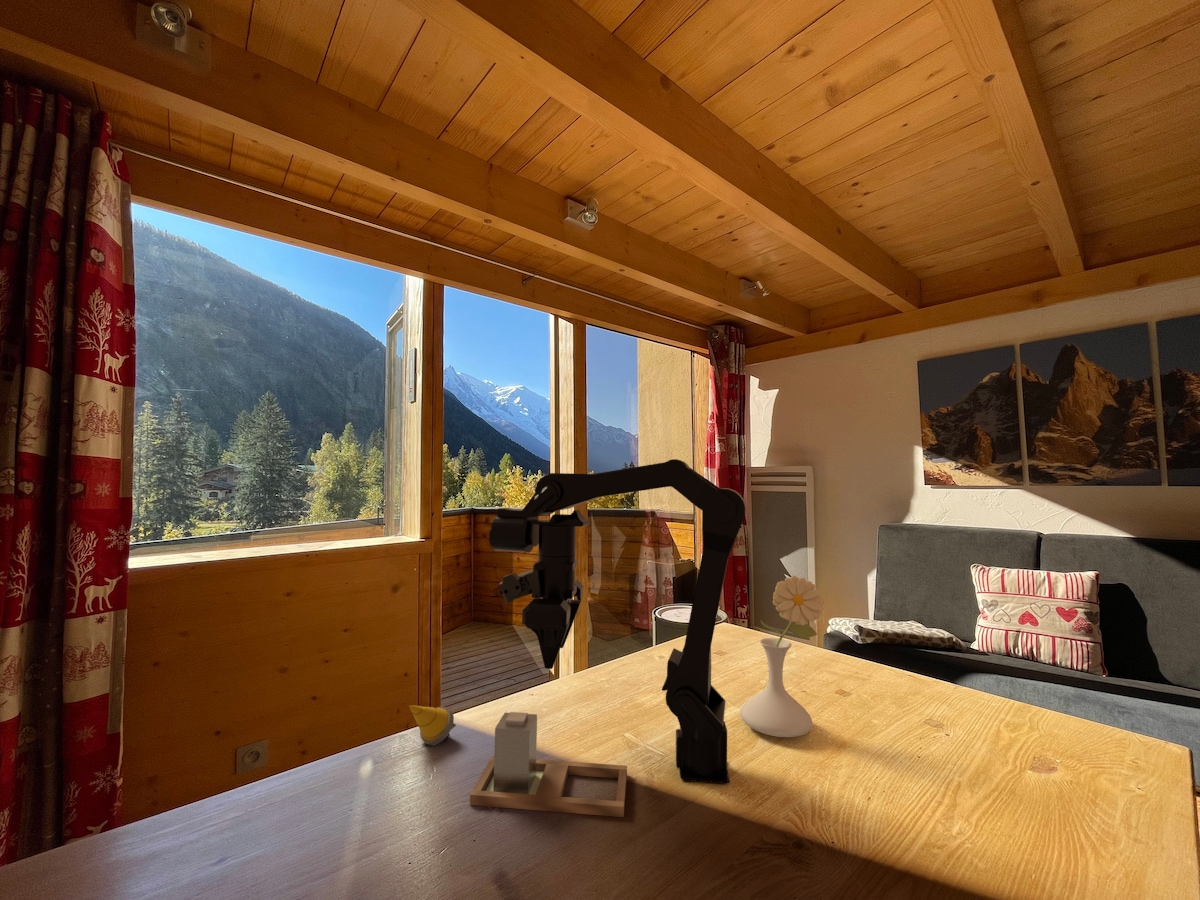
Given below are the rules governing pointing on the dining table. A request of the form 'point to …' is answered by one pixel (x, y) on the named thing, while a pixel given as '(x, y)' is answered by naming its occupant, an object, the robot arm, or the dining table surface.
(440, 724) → the yellow and grey cone
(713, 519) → the robot arm
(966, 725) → the dining table surface
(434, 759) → the dining table surface
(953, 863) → the dining table surface
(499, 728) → the grey tall block
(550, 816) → the dining table surface
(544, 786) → the wooden double frame
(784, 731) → the flower in vase
